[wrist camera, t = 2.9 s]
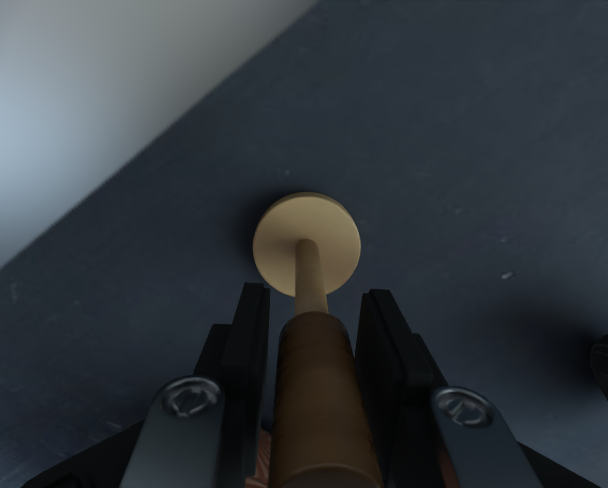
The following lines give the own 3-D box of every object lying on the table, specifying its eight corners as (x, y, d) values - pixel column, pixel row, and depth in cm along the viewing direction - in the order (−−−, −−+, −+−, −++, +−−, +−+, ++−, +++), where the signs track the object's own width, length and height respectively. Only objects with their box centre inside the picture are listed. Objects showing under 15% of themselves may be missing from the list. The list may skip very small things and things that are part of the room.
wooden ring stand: (266, 180, 18) (191, 348, 5) (369, 205, 19) (541, 416, 6) (246, 277, 20) (148, 594, 7) (341, 297, 21) (424, 631, 7)
